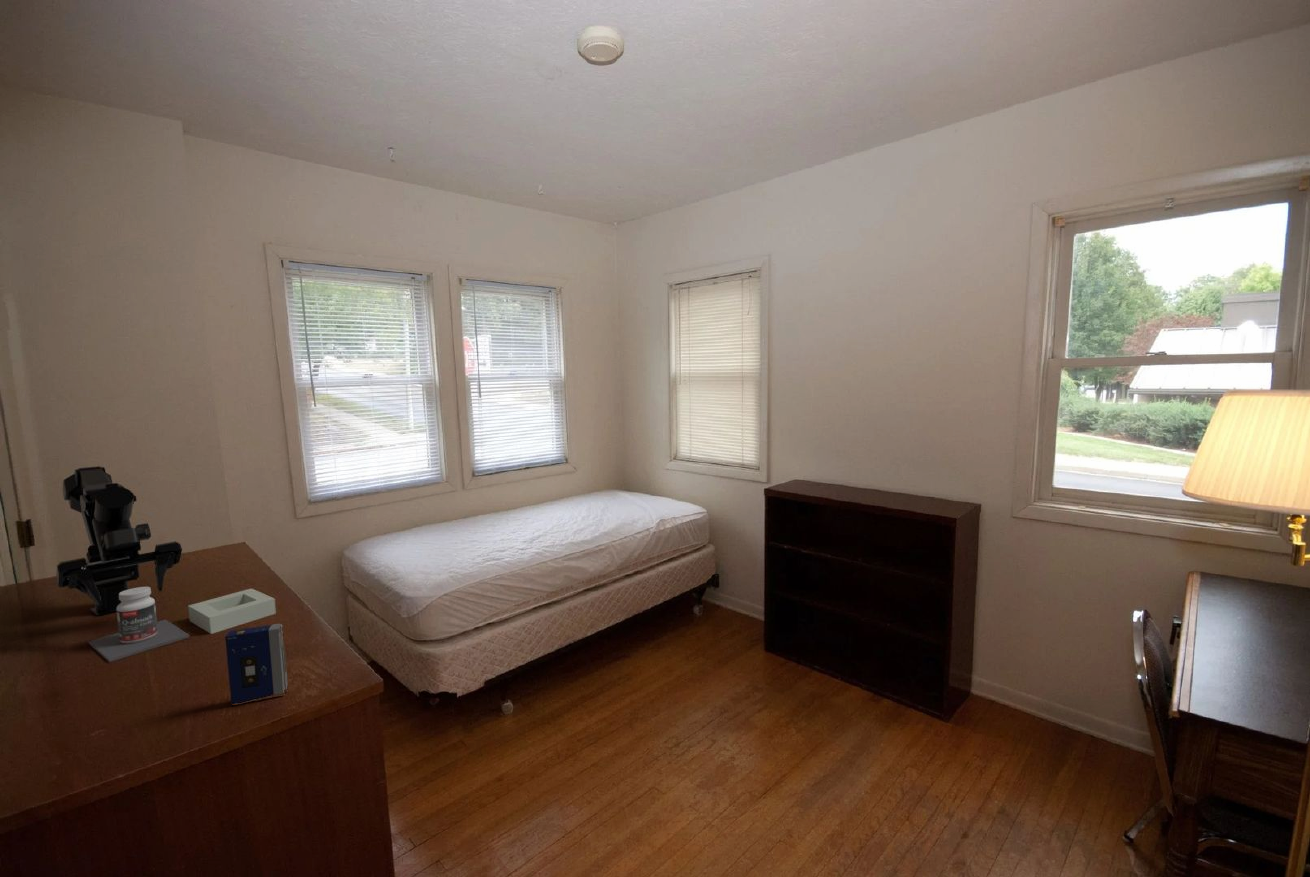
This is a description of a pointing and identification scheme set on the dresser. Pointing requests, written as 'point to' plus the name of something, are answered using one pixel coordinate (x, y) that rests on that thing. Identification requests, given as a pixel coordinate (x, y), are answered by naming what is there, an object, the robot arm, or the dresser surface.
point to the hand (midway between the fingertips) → (131, 597)
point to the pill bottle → (136, 615)
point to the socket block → (231, 610)
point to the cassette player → (256, 662)
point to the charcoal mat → (117, 650)
